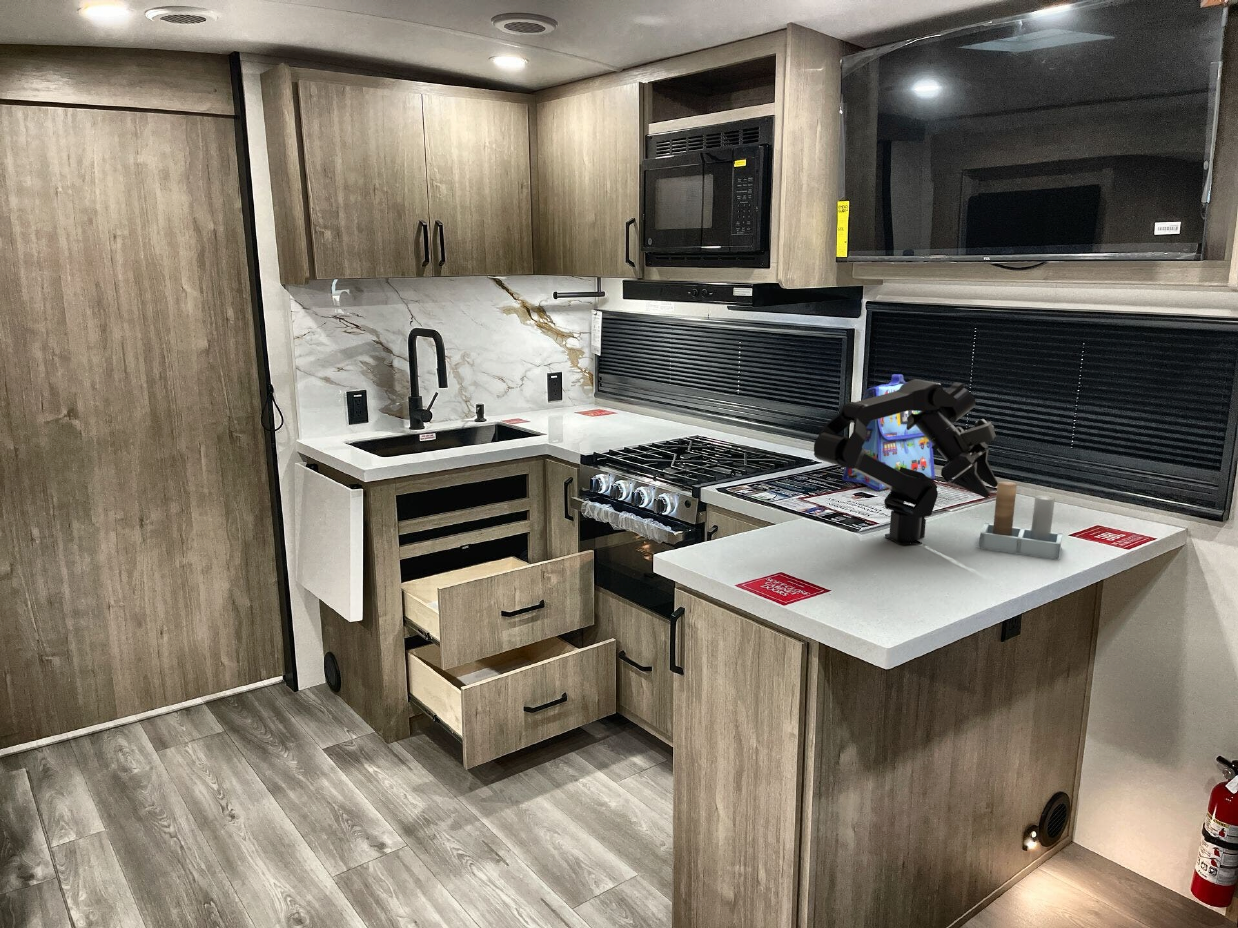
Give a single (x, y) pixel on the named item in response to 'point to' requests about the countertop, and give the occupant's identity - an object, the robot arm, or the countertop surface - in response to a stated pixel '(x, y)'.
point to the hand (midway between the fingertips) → (992, 491)
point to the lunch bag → (894, 441)
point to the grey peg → (1042, 518)
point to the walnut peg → (1004, 508)
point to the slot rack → (1020, 543)
